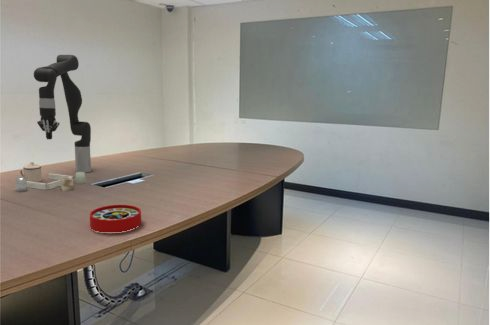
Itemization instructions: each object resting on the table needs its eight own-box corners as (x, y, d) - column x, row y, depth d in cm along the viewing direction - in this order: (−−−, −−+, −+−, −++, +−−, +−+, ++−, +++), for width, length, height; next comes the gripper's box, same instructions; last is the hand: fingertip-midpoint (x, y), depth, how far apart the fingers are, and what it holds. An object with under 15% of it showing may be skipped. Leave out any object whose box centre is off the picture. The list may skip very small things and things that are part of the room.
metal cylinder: (28, 189, 195) (27, 176, 193) (26, 191, 190) (25, 178, 189) (17, 189, 193) (16, 177, 192) (15, 192, 188) (14, 179, 187)
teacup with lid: (45, 180, 214) (44, 161, 212) (36, 184, 205) (34, 164, 203) (26, 179, 215) (24, 160, 213) (15, 182, 206) (14, 162, 204)
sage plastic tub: (85, 181, 216) (85, 171, 215) (85, 183, 211) (84, 173, 210) (76, 181, 214) (75, 172, 213) (75, 183, 209) (75, 173, 208)
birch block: (70, 187, 201) (70, 177, 200) (73, 189, 197) (72, 179, 196) (61, 189, 198) (60, 178, 197) (63, 191, 194) (63, 180, 193)
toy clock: (131, 202, 163) (148, 215, 147) (131, 214, 164) (148, 228, 148) (84, 209, 151) (97, 224, 135) (84, 222, 152) (97, 238, 136)
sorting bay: (21, 186, 199) (20, 181, 199) (50, 178, 219) (50, 173, 218) (47, 189, 195) (46, 184, 194) (74, 181, 215) (74, 176, 214)
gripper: (31, 106, 190) (33, 139, 193) (52, 107, 186) (54, 140, 190) (42, 106, 197) (44, 137, 200) (63, 107, 194) (64, 139, 197)
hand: (49, 139), depth 195 cm, fingers closed
